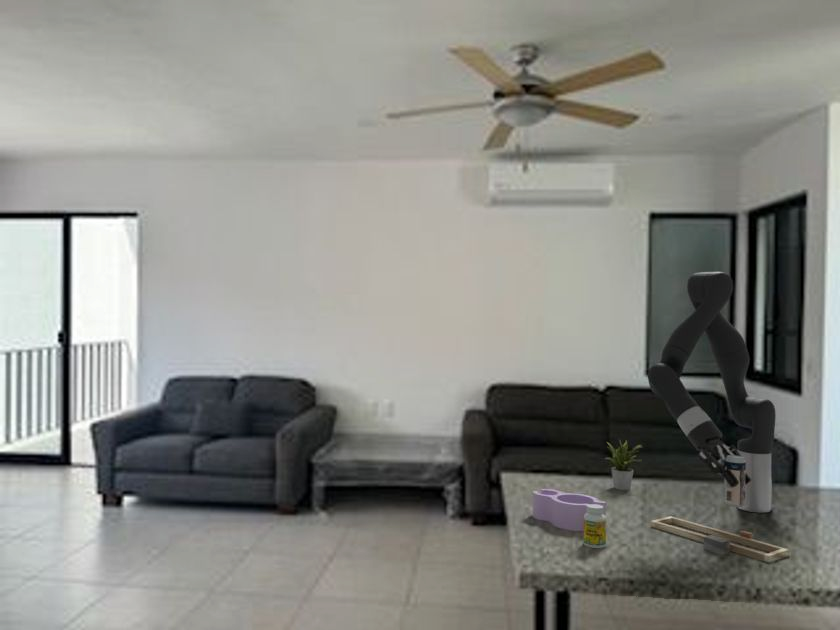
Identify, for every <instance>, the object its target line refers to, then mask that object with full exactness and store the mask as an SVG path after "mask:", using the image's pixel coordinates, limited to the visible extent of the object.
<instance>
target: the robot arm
mask: <svg viewBox="0 0 840 630" xmlns="http://www.w3.org/2000/svg"><path fill="white" fill-rule="evenodd" d="M686 287H687V289H686V290H687V294H688V298H689V300H690V302H691V303H692V306H693V308H694V309H695V310H694V311H693V313H691V314H690V315H689V316H688V317H687V318H686V319H685V320H683V321H682V322H681V323H680V324H679V325H678V326H677V327H676V328H675V329H674V330H673V332H672V333H671V334H670V337H669V338H668V339H667V342H666V344H665V345H664V347H663V349H662V352H661V359H660V362H659V363H655V364H652V366H650V367H649V370H648V372H647V380H648V385H649V388H650V390H651V391H652V393H654V394H655V395H656V396H659V397H661V398H662V400H663V402H664V403H665V406H666V408H667V410H668V411H669V413H670V414H671V416H672V418H673V419H674V420H675V421H676V422H677V424H678V425H679V427H680V429H681V430H682V432H683V433H684V434H685V436H686V437H687V439H688V440H689V441H690V442H691V444H692V445H693V446H694V448H695V449H696V451H699V453H698V454H697V457H698V458H699V459H700V460H701V461H702V463H704V464H705V465H706V466H707V468H708V469H709V471H710V470H711V472H712V473H713V474H716V475H717V474H719V475H720V476H722V477H723V479H724V478H725V480H726V481H727V482H728V484H729V485H730V486H731V487H735V486H736V485H738V484H739V481H738V480H737V478H736V477H735V476H734V475H733V473H732V472H731V471H730V470H729V468H728V466H727V464H726V459H725V458H726V457H727V456H728V455H735V456H741V457H744V459H745V461H746V477H745V505H743V506H742V507H736V508H737V509H740V510H741V511H746V512H750V513H751V512H752V513H759V514H761V513H770V512H771V509H772V493H773V492H772V488H773V487H772V481H773V479H772V450H773V445H774V441H775V427H776V408H775V404H774V403H773V402H772V401H771V399H770V400H769V399H767V398H759V397H752V396H751V397H750V396H749V395H748V392H747V390H746V387H745V377H746V375H747V371H748V369H749V365H750V354H749V351H748V348H747V345H746V343H745V340H744V337H743V336H742V334H741V333H740V332H739V331H738V329H736V328H735V327H734V326H733V324H732V323H731V322H730V321H728V320H727V318H726V317H725V316H724V315H723V314H722V312H721V310H722V309H723V308H724V307H725V305H726V304H727V303H728V301H729V300H730V298H731V296H732V294H733V290H734V282H733V279H732V277H731V276H730V275H729V274H728V273H727V272H723V271H704V272H703V271H701V272H695V273H693V274H691V275H690V276H689V278H688V281H687V285H686ZM704 333H705V335H706V338H707V341H708V343H709V345H710V349H711V351H712V355H713V358H714V360H715V363H716V366H717V368H718V371H719V373H720V376H721V380H722V382H723V387H724V389H725V392H726V393H725V395H726V397H727V402H728V406H729V411H730V413H731V417H732V419H733V421H734V422H735V424H737V425H738V426H740V427H742V428H747V429H752V433H751V436H748V437H747V438H741V439H740V440H738V441H737V445H736V446H737V447H736V446H735V445H733V444H732V445H730V446H728V445H727V444H726V443H724V442H723V441H722V439H723V433H722V431H721V430H720V428H718V426H717V425H716V424H715V423H714V421H713V420H712V419H711V417H709V415H708V414H707V412H705V410H704V409H702V408H701V407H700V405H699V404H698V402H697V401H696V400H695V399H694V398H693V396H691V394H690V393H689V392H688V390H687V389H686V387H685V385H684V383H683V382H682V380H681V376H682V374H683V372H684V371H683V370H684V367H685V366H686V364H687V362H688V360H689V358H690V357H691V354H692V353H693V351H694V349H695V347H696V346H697V344H698V342H699V340H700V338H701V337H702V335H703V334H704Z"/></svg>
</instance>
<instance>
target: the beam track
mask: <svg viewBox="0 0 840 630" xmlns="http://www.w3.org/2000/svg"><path fill="white" fill-rule="evenodd" d="M672 524H673V525H672ZM674 525H676V526H674ZM677 526H680V527H677ZM650 527H651V528H655V529H658V530H661V531H665V532H668V533H671V534H674V535H678V536H681V537H684V538H686V539H687V538H688V539H690V538H691V540H693V539H694V541H697V540H698V541H697V542H700V541H701V542H700V543H703V542H704V543H703V550H705V551H708V550H709V551H708V552H710V553H711V552H712V553H715V554H718V555H721V556H725V555H728V554H730V552H734V553H737V554H740V555H744V556H747V557H749V558H753V559H756V560H759V561H763V562H765V563H766V562H767V563H772V562H775V561H778V560H781V559H783V558H787V557H789V556H790V549H789V548H786V547H782V546H777V545H774V544H772V543H768V542H764V541H760V540H757V539H753V532H749V531H747V530H746V531H745V530H742V531H739V534H737V533H732V532H729V531H725V530H722V529H717V528H714V527H711V526H707V525H704V524H701V523H696V522H693V521H690V520H686V519H683V518H679V517H675V516H670V515H669V516H666V517H662V518H657V519H654V520H650ZM681 527H684V528H686V529H684V528H681ZM690 528H691V529H690ZM688 529H690V530H688ZM693 529H694V530H693ZM691 530H693V531H691ZM695 531H697V532H695ZM700 531H701V532H700ZM698 532H700V533H698ZM703 532H704V533H703ZM702 533H703V534H702ZM707 533H708V535H704V534H707ZM710 534H711V535H710ZM732 542H735V543H738V544H735V543H732ZM739 544H742V545H744V546H742V545H739ZM746 546H749V547H752V548H753V549H752V548H749V547H746ZM755 548H756V549H759V550H755ZM760 550H763V551H766V552H769V553H765V552H763V551H760Z"/></svg>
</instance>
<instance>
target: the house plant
mask: <svg viewBox="0 0 840 630" xmlns="http://www.w3.org/2000/svg"><path fill="white" fill-rule="evenodd" d="M618 440H619V444H620V446H619V447H618V448H616V449H615V448H614V446H613V445H611V444H610V443H609V442H607V444H608V450H610V452H611V453H612V457H605V458H604V460H610V462H612V464H614V467H611V475H612V481H613V488H614V489H616V490H621V491H629V490H631V486H632V482H633V481H632V480H633V477H634V476H633V475H634V469H632V468H630V467H629V465H630V463H632V462H639V463H641V460H639V459H634V458H635V457H637V456H638V455H633V454H634V453H637V452H638V449H640V447H642V444H638V445H636V446H634V447H633V448H632V449H631V450H629V451H628V447H629V445H628V440H627V439H625V442H624V443H623V444H622V441H621V440H620V438H619V439H618ZM632 455H633V456H632Z"/></svg>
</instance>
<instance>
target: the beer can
mask: <svg viewBox="0 0 840 630" xmlns="http://www.w3.org/2000/svg"><path fill="white" fill-rule="evenodd" d="M725 459H726V464H727V466H728V468H729V470H730V471H731V472H732V473H733V475H734V476H735V477H736V478H737V480H738V481H739V484H738V485H736V486H735V487H731V486H730V485H729V484H728V482H727V481H726V480H725V478H724V477H723V482H724V483H723V503H724V504H726V505H727V506H729V507H735V508H737V507H742V506H743V505H745V477H746V461H745V459H744V457H741V456H735V455H728V456H727V457H726V458H725Z"/></svg>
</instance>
